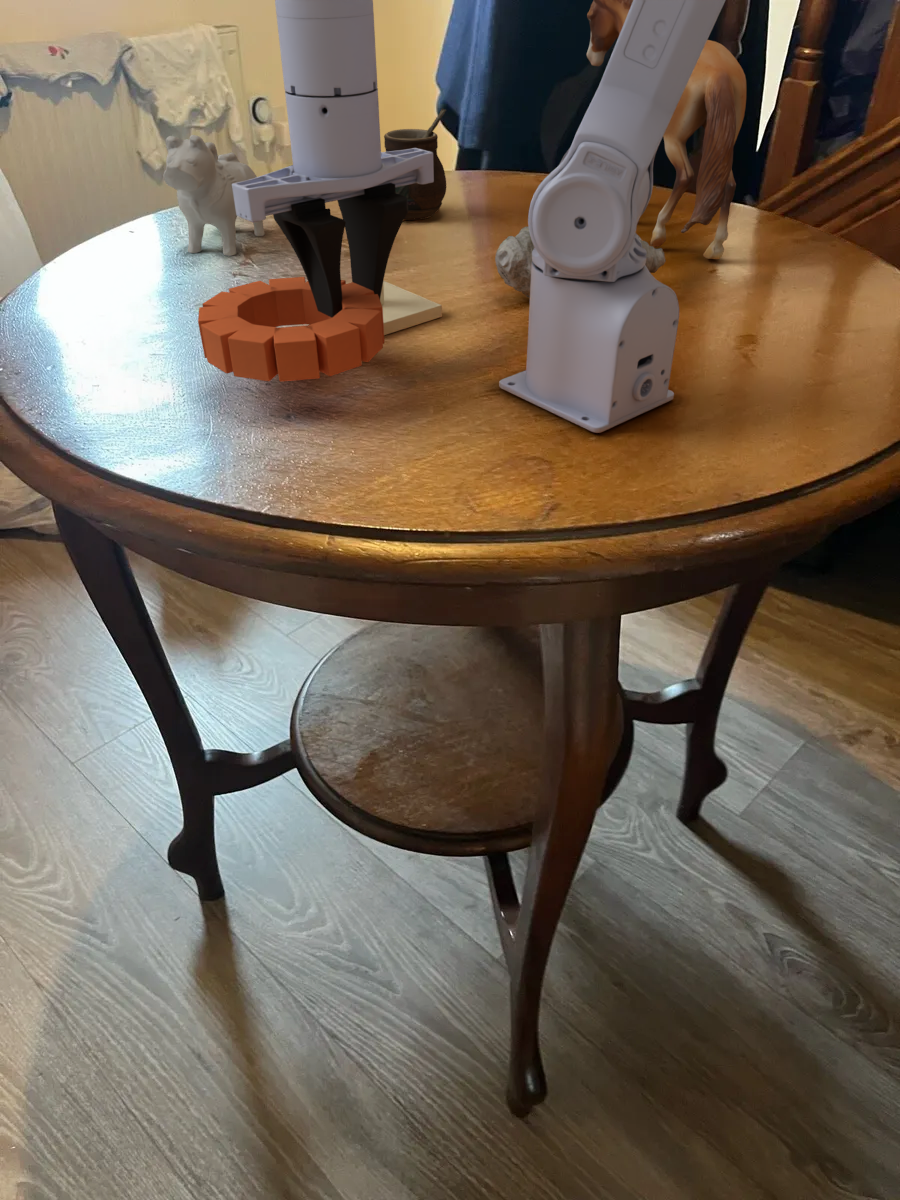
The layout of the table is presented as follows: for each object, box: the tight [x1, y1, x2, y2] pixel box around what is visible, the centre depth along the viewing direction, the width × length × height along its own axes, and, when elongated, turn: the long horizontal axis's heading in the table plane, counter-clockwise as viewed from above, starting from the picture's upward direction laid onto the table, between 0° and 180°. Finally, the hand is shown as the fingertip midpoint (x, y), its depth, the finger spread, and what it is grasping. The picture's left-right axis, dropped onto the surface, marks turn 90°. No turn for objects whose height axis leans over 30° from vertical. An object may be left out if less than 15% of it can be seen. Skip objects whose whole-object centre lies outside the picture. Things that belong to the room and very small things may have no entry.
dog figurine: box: [162, 134, 266, 257], centre depth 86 cm, size 5×13×11 cm, turn 165°
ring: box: [197, 276, 385, 382], centre depth 61 cm, size 12×12×3 cm
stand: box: [380, 280, 443, 336], centre depth 73 cm, size 8×8×6 cm
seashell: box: [494, 225, 667, 299], centre depth 76 cm, size 6×14×8 cm, turn 95°
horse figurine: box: [586, 0, 747, 260], centre depth 85 cm, size 31×8×21 cm, turn 13°
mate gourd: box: [383, 107, 447, 221], centre depth 94 cm, size 7×8×10 cm
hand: (349, 307), depth 64 cm, fingers closed on ring, 3 cm apart
